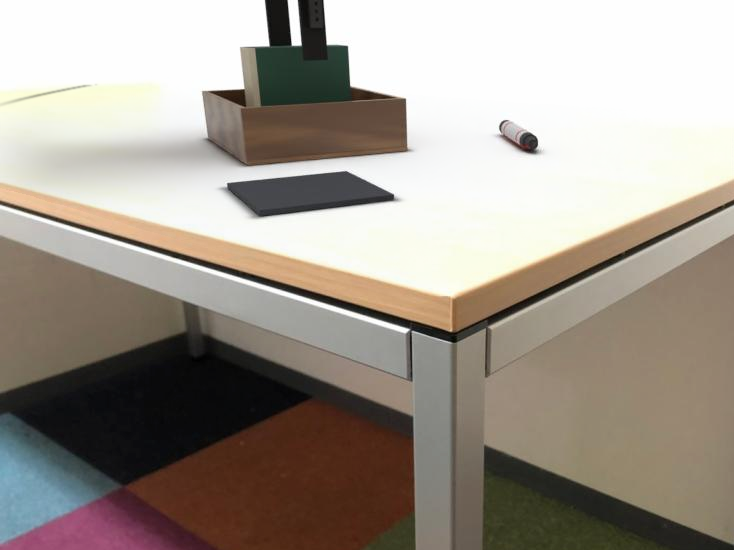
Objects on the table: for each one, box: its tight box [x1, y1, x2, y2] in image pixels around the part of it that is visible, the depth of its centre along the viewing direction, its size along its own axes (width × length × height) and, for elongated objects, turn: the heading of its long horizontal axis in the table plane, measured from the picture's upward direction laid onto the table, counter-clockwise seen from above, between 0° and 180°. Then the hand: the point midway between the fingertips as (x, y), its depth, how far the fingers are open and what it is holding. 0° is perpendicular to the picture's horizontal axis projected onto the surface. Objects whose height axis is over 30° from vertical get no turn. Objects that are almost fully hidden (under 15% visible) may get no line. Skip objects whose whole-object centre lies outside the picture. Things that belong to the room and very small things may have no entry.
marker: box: [498, 119, 539, 152], centre depth 93 cm, size 15×2×2 cm, turn 9°
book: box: [239, 44, 351, 107], centre depth 91 cm, size 4×12×11 cm, turn 118°
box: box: [201, 85, 408, 166], centre depth 92 cm, size 21×19×6 cm
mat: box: [226, 170, 395, 217], centre depth 68 cm, size 12×12×1 cm
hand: (297, 57), depth 89 cm, fingers open, 13 cm apart
